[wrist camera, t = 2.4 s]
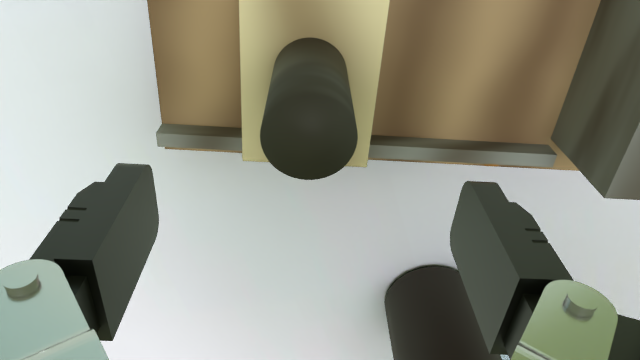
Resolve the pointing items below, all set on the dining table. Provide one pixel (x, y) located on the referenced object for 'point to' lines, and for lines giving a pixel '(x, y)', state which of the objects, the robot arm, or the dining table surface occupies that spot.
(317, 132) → the block
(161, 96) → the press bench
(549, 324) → the robot arm
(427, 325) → the bottle
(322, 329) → the dining table surface
